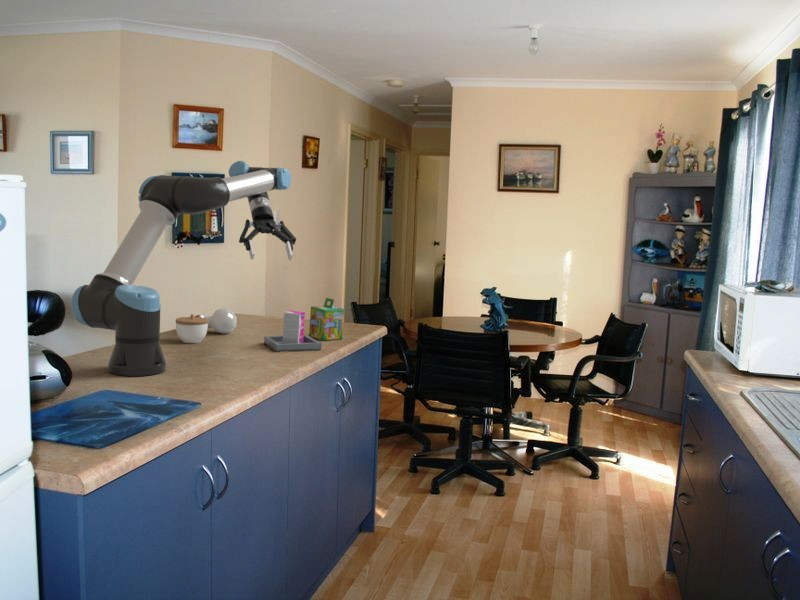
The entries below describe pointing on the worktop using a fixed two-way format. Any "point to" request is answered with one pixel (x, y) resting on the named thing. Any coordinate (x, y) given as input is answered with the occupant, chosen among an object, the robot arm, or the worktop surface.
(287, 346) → the tray
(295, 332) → the supplement box
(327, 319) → the chalk box
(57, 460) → the worktop surface
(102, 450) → the worktop surface
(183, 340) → the lidded jar
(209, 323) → the potion bottle
